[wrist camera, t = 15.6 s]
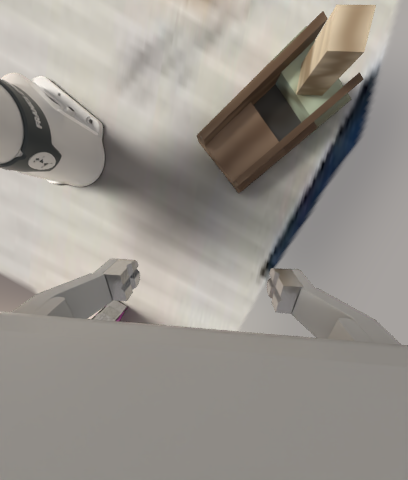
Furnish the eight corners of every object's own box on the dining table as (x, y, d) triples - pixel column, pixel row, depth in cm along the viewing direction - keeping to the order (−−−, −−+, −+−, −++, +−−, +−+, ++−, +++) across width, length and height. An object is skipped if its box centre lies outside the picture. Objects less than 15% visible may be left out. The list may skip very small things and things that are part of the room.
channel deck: (198, 141, 33) (194, 127, 27) (297, 44, 28) (318, 2, 23) (238, 193, 35) (243, 190, 29) (338, 109, 30) (367, 86, 24)
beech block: (295, 94, 28) (327, 50, 20) (301, 63, 27) (336, 4, 19) (322, 95, 27) (364, 51, 20) (328, 64, 26) (375, 5, 19)
